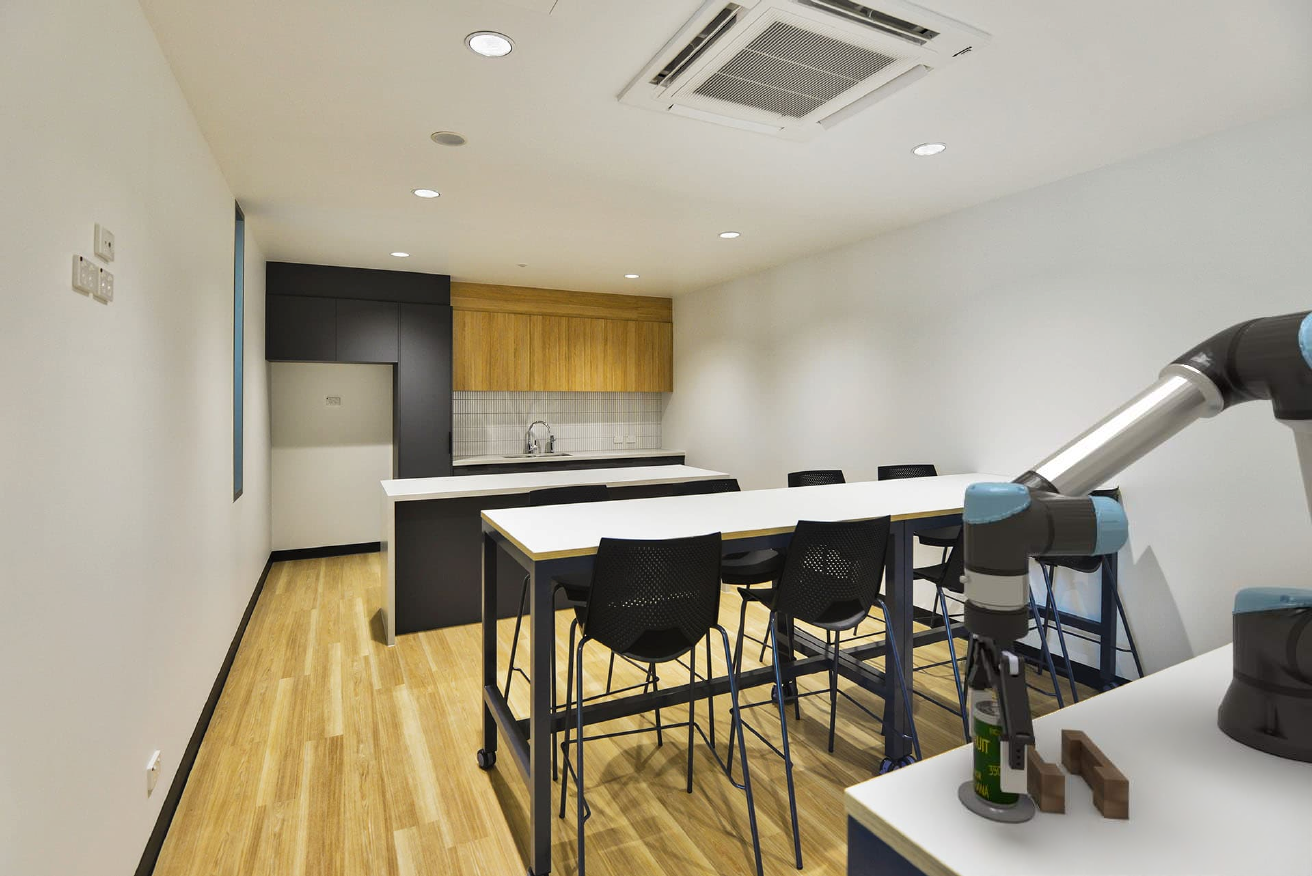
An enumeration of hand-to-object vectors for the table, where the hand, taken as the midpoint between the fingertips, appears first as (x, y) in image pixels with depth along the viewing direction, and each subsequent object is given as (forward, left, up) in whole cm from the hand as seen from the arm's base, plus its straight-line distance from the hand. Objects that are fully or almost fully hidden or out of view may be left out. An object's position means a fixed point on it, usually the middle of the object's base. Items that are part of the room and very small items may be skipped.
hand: (995, 761), depth 87 cm
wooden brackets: (-10, -5, -5) cm, 12 cm away
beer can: (0, 0, -5) cm, 5 cm away
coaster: (0, 0, -5) cm, 5 cm away
